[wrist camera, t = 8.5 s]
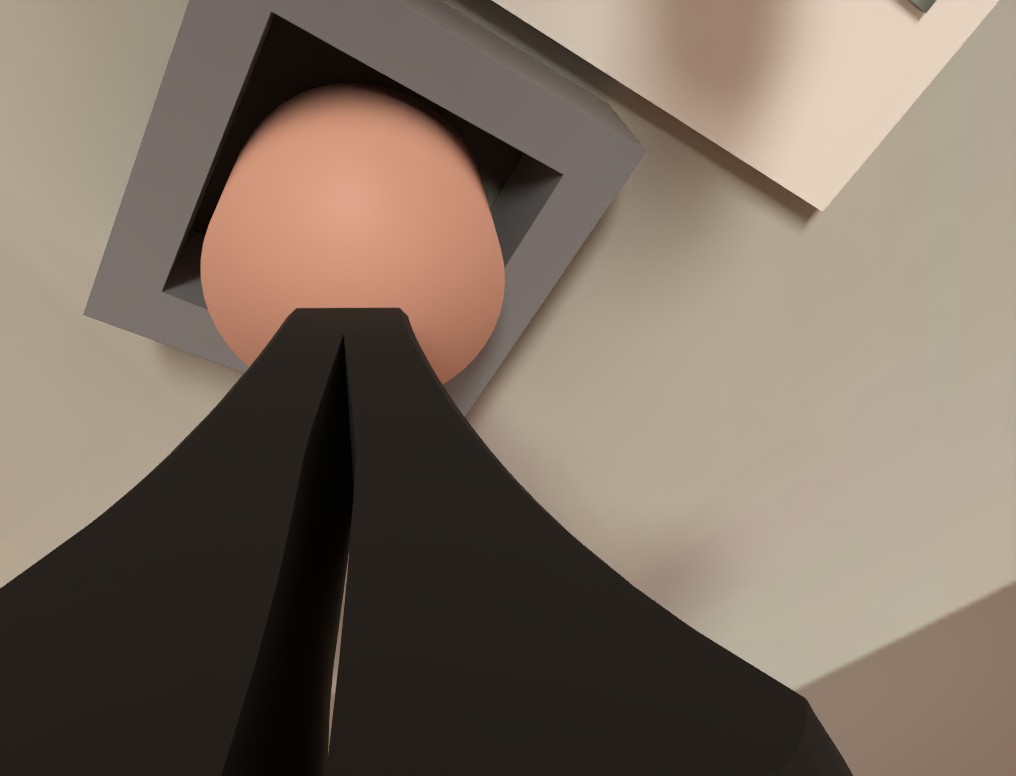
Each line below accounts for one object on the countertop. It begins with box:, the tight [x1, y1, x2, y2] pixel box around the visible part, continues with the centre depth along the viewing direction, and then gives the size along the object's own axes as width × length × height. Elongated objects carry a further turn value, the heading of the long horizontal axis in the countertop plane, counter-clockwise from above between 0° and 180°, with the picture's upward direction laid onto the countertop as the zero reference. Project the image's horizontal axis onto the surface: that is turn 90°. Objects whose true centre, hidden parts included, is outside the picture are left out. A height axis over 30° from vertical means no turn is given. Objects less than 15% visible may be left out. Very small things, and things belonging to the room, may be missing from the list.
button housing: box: [83, 0, 646, 417], centre depth 14 cm, size 7×7×2 cm
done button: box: [201, 83, 505, 384], centre depth 13 cm, size 4×4×3 cm
